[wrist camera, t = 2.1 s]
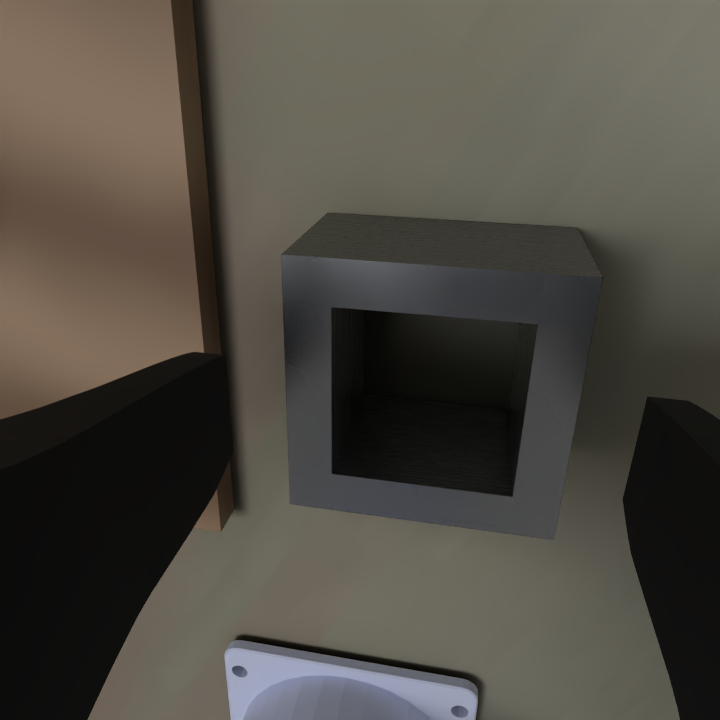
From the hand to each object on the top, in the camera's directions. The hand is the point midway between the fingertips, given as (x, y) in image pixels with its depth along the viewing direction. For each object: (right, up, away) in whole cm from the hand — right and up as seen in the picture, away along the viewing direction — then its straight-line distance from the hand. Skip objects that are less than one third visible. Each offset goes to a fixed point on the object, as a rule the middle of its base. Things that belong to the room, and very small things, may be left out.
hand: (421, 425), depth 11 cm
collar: (+1, +2, +4) cm, 4 cm away
